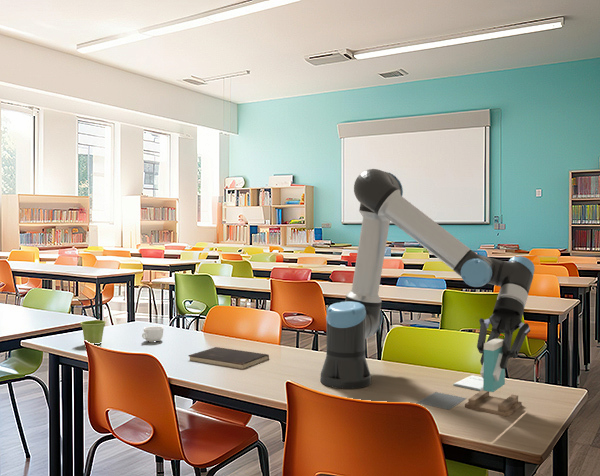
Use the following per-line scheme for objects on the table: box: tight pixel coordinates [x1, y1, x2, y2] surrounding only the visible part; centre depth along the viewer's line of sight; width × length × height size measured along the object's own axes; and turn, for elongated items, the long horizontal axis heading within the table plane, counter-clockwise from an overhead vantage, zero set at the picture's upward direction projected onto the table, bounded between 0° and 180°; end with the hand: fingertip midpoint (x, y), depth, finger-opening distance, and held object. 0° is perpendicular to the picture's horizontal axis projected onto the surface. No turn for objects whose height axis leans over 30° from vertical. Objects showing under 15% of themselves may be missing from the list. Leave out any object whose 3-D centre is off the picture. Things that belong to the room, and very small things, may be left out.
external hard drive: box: [453, 374, 483, 392], centre depth 164 cm, size 2×8×12 cm
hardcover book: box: [187, 346, 270, 370], centre depth 193 cm, size 16×23×2 cm
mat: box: [416, 391, 468, 410], centre depth 148 cm, size 12×9×1 cm
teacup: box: [141, 325, 164, 343], centre depth 221 cm, size 10×8×5 cm
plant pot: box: [80, 319, 107, 344], centre depth 216 cm, size 9×9×9 cm
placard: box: [483, 337, 506, 393], centre depth 143 cm, size 9×2×12 cm, turn 142°
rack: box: [464, 390, 523, 417], centre depth 144 cm, size 11×11×3 cm
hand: (489, 376), depth 140 cm, fingers closed on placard, 2 cm apart
